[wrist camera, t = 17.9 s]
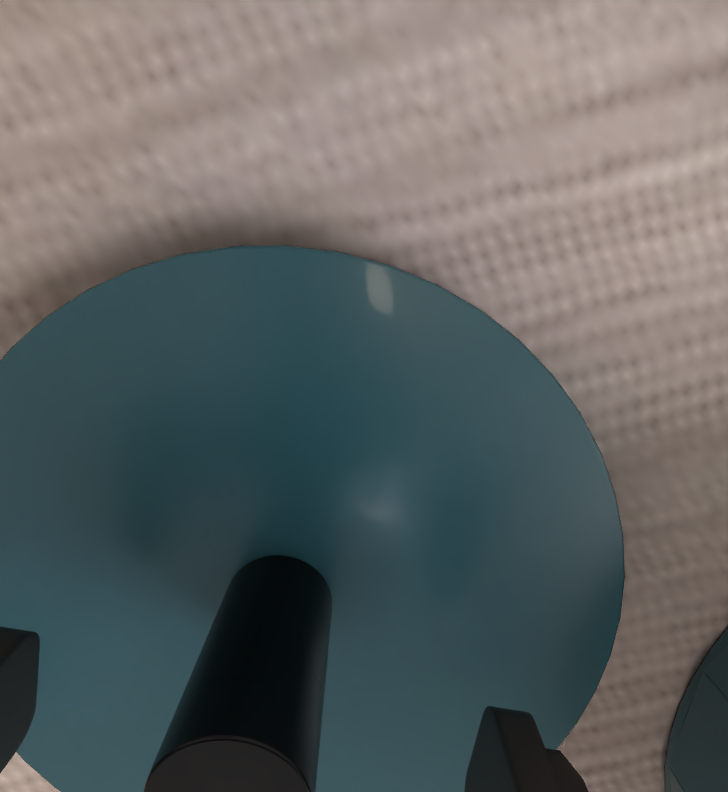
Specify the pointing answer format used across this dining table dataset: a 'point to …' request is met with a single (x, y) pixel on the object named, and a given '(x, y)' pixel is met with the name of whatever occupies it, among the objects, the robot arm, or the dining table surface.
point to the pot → (702, 729)
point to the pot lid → (294, 529)
